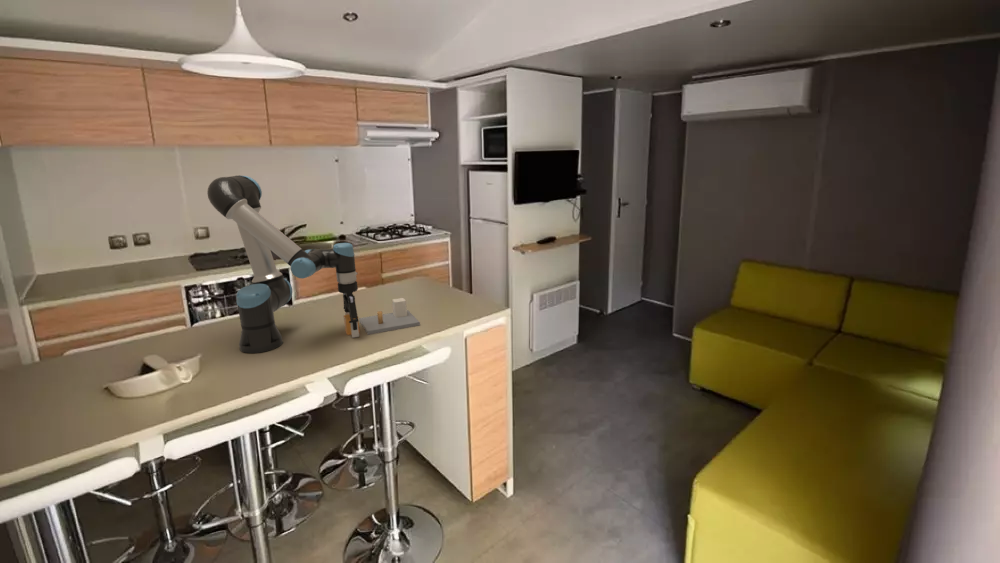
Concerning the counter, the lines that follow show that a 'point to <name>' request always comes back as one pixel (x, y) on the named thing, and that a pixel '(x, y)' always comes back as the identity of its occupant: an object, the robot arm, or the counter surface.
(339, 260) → the robot arm
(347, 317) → the orange rectangular block
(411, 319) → the plate
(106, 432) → the counter surface
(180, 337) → the counter surface
